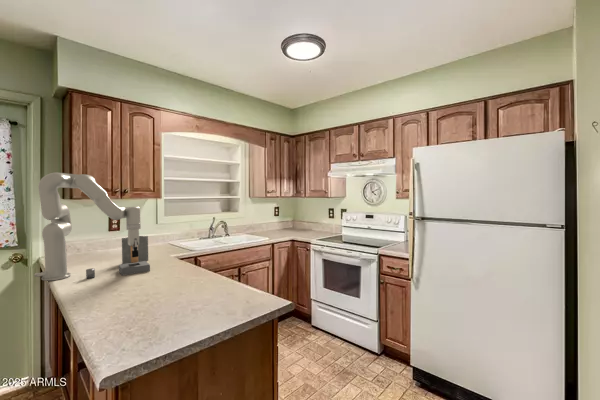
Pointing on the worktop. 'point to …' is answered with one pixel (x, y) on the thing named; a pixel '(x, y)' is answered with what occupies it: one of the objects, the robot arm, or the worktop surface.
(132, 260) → the long pin
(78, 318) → the worktop surface
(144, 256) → the hip flask
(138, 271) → the hole block
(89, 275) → the short pin
